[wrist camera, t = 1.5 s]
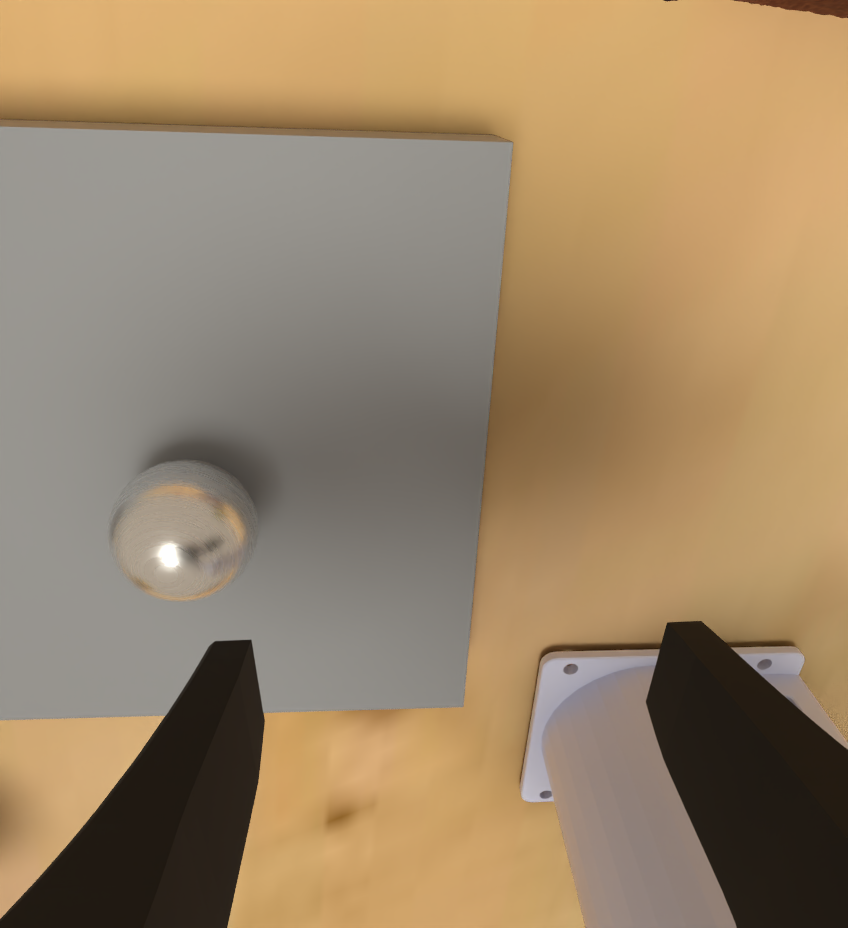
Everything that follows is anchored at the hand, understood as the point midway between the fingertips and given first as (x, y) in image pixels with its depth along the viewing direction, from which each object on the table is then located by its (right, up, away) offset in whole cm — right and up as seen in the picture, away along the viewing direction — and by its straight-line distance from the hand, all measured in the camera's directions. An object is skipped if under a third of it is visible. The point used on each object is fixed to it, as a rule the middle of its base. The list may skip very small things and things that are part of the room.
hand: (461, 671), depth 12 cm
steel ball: (-6, +2, +3) cm, 7 cm away
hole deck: (-9, +4, +7) cm, 12 cm away
